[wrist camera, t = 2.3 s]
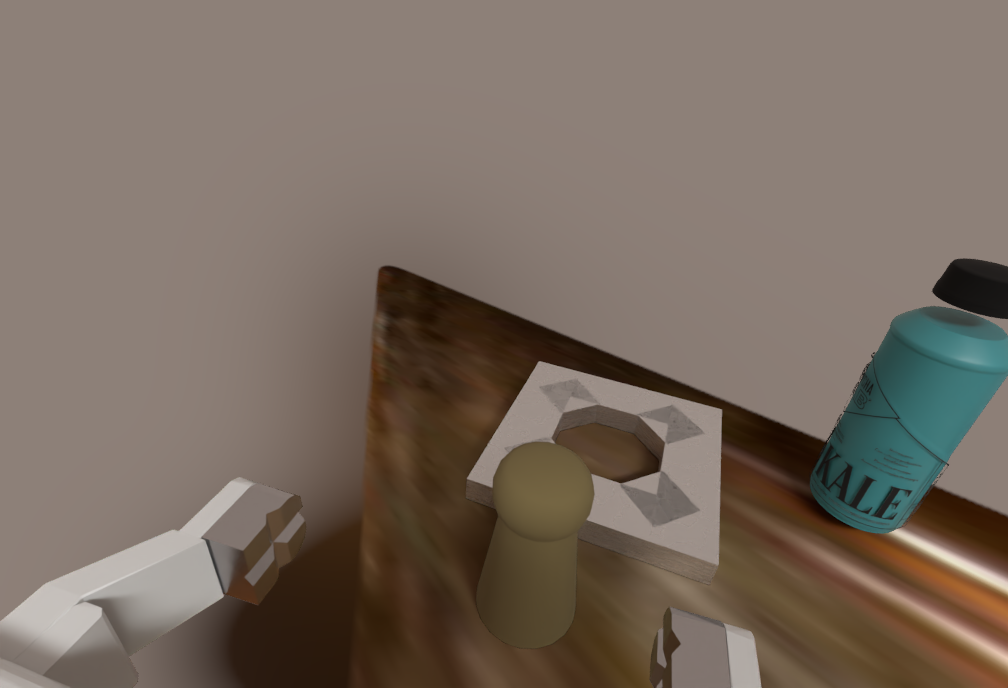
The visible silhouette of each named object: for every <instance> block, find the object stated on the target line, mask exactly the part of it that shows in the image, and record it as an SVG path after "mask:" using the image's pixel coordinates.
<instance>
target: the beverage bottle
mask: <svg viewBox="0 0 1008 688" xmlns="http://www.w3.org/2000/svg"><path fill="white" fill-rule="evenodd" d="M933 293H934V294H935V295H936V296H937V297H938V298H940V299H941V300H943V301H945V302H947V303H949V304H951V305H953V306H956V307H959V308H961V309H964V310H967V311H970V312H973V313H977V314H980V315H985V316H989V317H995V318H1002V319H1008V267H1007V266H1004V265H1000V264H997V263H992V262H988V261H982V260H976V259H956V260H954V261H953V262H952V263H950V265H949V266H948V268H947V269H946V271H945V272H944V274H943V275H942V277H941V278H940V279H939V280H938V281H937V283H936V285H935V286H934V288H933ZM873 354H874V353H873ZM871 356H872V355H871ZM872 358H873V359H872V361H871V362H870V364H867V365H868V366H869V367H868V366H866V367H867V368H868V369H866V370H867V371H866V372H865V368H864V370H863V372H864V373H862V375H863V377H862V379H861V381H860V383H859V382H858V387H857V386H856V387H857V389H856V391H855V390H854V391H855V393H854V392H853V397H852V399H851V401H850V403H849V404H848V407H847V408H846V410H845V411H844V414H843V416H842V418H841V420H839V419H840V418H839V419H838V420H839V423H838V424H837V427H835V428H834V430H833V431H832V433H831V435H832V434H833V435H832V436H831V435H830V436H829V438H830V437H831V438H830V440H829V438H828V440H829V442H828V444H827V446H826V443H827V441H828V440H827V441H826V443H825V445H824V446H823V448H822V450H821V451H822V452H820V454H819V455H820V456H821V457H820V459H819V457H817V458H818V460H819V461H818V460H817V461H818V463H817V465H816V464H815V463H816V461H815V463H814V464H815V465H816V466H815V468H814V470H813V469H812V470H813V472H812V474H811V480H810V489H811V492H812V494H813V496H814V497H815V499H816V500H817V501H818V503H819V504H820V505H821V506H822V507H823V508H824V509H825V510H826V511H827V512H829V513H830V514H831V515H833V516H834V517H836V518H837V519H839V520H840V521H842V522H844V523H846V524H848V525H850V526H852V527H854V528H857V529H860V530H863V531H867V532H872V533H888V532H891V531H894V530H896V529H898V528H901V526H902V525H903V524H905V521H906V519H908V517H909V515H911V513H912V511H913V510H914V508H916V507H917V506H916V505H917V504H919V501H920V500H921V498H922V497H924V496H925V495H924V494H925V493H926V491H928V488H929V487H931V486H933V485H931V484H932V483H933V481H934V480H935V479H936V477H937V476H938V474H939V473H940V472H941V470H942V469H943V467H944V466H945V464H947V461H948V460H949V458H950V456H951V454H952V453H953V451H954V450H955V449H956V447H957V446H958V444H959V443H960V442H961V440H962V439H963V437H964V436H965V434H966V433H967V432H968V430H969V429H970V428H971V426H972V425H973V423H974V422H975V421H976V419H977V418H978V416H979V415H980V413H981V412H982V411H983V409H984V408H985V407H986V405H987V404H988V402H989V401H990V399H991V398H992V397H993V395H994V394H995V393H996V391H997V390H998V388H999V387H1000V386H1001V384H1002V382H1003V381H1004V380H1005V379H1006V377H1007V376H1008V336H1007V334H1006V333H1005V332H1004V330H1003V329H1002V328H1000V327H999V326H997V325H996V324H994V323H992V322H990V321H988V320H986V319H983V318H981V317H979V316H976V315H973V314H970V313H967V312H963V311H960V310H956V309H952V308H946V307H936V306H930V307H923V308H919V309H915V310H912V311H908V312H905V313H903V314H900V315H898V316H896V317H895V318H894V319H893V320H892V322H891V325H890V329H889V331H888V333H887V334H886V336H885V338H884V340H883V342H882V344H881V345H880V347H879V349H878V351H877V352H876V354H875V355H874V357H873V356H872ZM856 387H855V388H856ZM841 415H842V414H841ZM841 415H840V416H841ZM838 420H837V421H838ZM825 446H826V448H825ZM824 448H825V450H824ZM821 453H822V454H821ZM819 455H818V456H819ZM947 465H948V466H949V464H947ZM940 475H941V474H940ZM937 478H938V477H937ZM932 488H933V487H932ZM929 490H930V489H929ZM930 491H931V490H930ZM930 491H929V492H930ZM926 495H928V494H926ZM925 498H926V497H925ZM924 500H925V499H924ZM922 502H923V501H922ZM920 503H921V502H920ZM920 505H921V504H920ZM919 507H920V506H919ZM919 507H918V508H919ZM916 510H917V508H916ZM916 510H915V512H916ZM913 512H914V511H913ZM915 512H914V513H915ZM913 515H914V514H913ZM913 515H912V516H913ZM909 518H910V517H909ZM909 520H910V519H909ZM909 520H908V521H909ZM908 521H906V523H907V522H908ZM904 526H905V525H904ZM902 527H903V526H902Z"/></svg>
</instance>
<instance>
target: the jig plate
mask: <svg viewBox="0 0 1008 688" xmlns="http://www.w3.org/2000/svg"><path fill="white" fill-rule="evenodd" d="M593 422H595V423H599V424H602V425H606V426H609V427H613V428H616V429H619V430H623V431H626V432H630V433H633V434H635V435H636V437H637V438H638V439H639V440H640V441H641V442H642V443H643V444H644V445H645V446H646V447H647V448H648V449H649V450H650V451H651V452H652V453H653V454H654V455H655V456H656V458H657V459H658V460H659V467H658V472H657V473H654V474H651V475H648V476H644V477H641V478H638V479H635V480H632V481H629V482H625V483H622V484H621V483H618V482H615V481H612V480H608V479H605V478H602V477H599V476H596V475H593V474H591V475H592V480H593V485H594V493H595V495H594V500H593V504H592V509H591V512H590V515H589V517H588V518H587V520H586V521H585V522H584V524H583V525H582V526H581V528H580V529H579V531H578V539H581V540H584V541H587V542H589V543H592V544H595V545H598V546H601V547H603V548H606V549H609V550H612V551H615V552H617V553H620V554H623V555H626V556H629V557H632V558H634V559H637V560H640V561H643V562H646V563H648V564H651V565H654V566H657V567H660V568H662V569H665V570H668V571H671V572H674V573H676V574H679V575H682V576H685V577H688V578H691V579H693V580H696V581H699V582H702V583H705V584H707V585H710V583H711V581H712V579H713V577H714V574H715V572H716V570H717V568H718V566H719V522H720V474H721V426H722V409H718V408H714V407H710V406H707V405H703V404H699V403H695V402H691V401H688V400H684V399H680V398H676V397H673V396H669V395H665V394H661V393H657V392H654V391H650V390H646V389H642V388H639V387H635V386H631V385H627V384H624V383H620V382H616V381H612V380H608V379H605V378H601V377H597V376H593V375H590V374H586V373H582V372H578V371H575V370H571V369H567V368H563V367H559V366H556V365H552V364H548V363H544V362H541V361H539V362H538V364H537V366H536V367H535V369H534V370H533V372H532V374H531V375H530V377H529V379H528V380H527V382H526V383H525V385H524V387H523V388H522V390H521V392H520V393H519V395H518V396H517V398H516V400H515V401H514V403H513V405H512V406H511V408H510V409H509V411H508V413H507V414H506V416H505V418H504V419H503V421H502V422H501V424H500V426H499V427H498V429H497V431H496V432H495V434H494V435H493V437H492V439H491V440H490V442H489V443H488V445H487V447H486V448H485V450H484V452H483V453H482V455H481V456H480V458H479V460H478V461H477V463H476V465H475V466H474V468H473V469H472V471H471V473H470V474H469V476H468V478H467V484H466V499H469V500H471V501H474V502H477V503H480V504H483V505H485V506H488V507H491V508H494V509H496V508H495V506H494V502H493V498H492V490H493V477H494V474H495V472H496V470H497V468H498V466H499V463H500V461H501V460H502V459H503V458H504V457H505V456H506V455H507V454H508V453H509V452H510V451H512V450H513V449H514V448H516V447H518V446H520V445H522V444H525V443H531V442H550V443H554V444H555V441H556V439H557V436H558V434H559V432H560V431H561V430H565V429H569V428H573V427H577V426H581V425H585V424H589V423H593Z"/></svg>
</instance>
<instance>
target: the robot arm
mask: <svg viewBox="0 0 1008 688" xmlns="http://www.w3.org/2000/svg"><path fill="white" fill-rule="evenodd" d="M301 508H302V502H301V498H300V496H298V495H295V494H292V493H288V492H285V491H282V490H279V489H276V488H273V487H270V486H266V485H263V484H260V483H258V482H254V481H251V480H248V479H244V478H241V477H238V478H236V479H234V480H232V481H230V482H229V483H228V484H227V485H226V486H225V487H224V488H223V489H222V490H221V491H220V492H219V493H218V494H217V495H216V496H215V497H214V498H213V499H212V500H211V501H210V502H209V503H207V504H206V506H204V507H203V508H202V509H201V510H200V511H199V512H198V513H197V514H196V515H195V516H194V517H193V518H192V519H191V520H190V521H189V522H188V523H187V524H186V525H185V526H184V527H183V528H182V529H181V530H180V531H178V530H174V529H173V530H170V531H168V532H166V533H163V534H161V535H159V536H156V537H154V538H152V539H150V540H147V541H145V542H142V543H140V544H138V545H135V546H133V547H130V548H128V549H126V550H123V551H121V552H119V553H116V554H114V555H111V556H109V557H107V558H104V559H102V560H100V561H97V562H95V563H93V564H90V565H88V566H86V567H84V568H81V569H79V570H76V571H74V572H71V573H69V574H67V575H64V576H62V577H60V578H57V579H55V580H53V581H50V582H48V583H46V584H44V585H43V586H42V587H41V588H39V589H38V590H37V591H36V592H35V593H34V594H32V595H31V596H30V597H29V598H28V599H26V600H25V601H24V602H23V603H22V604H21V605H19V606H18V607H17V608H16V609H15V610H14V611H12V612H11V613H10V614H9V615H8V616H7V617H5V618H4V619H3V620H2V621H1V622H0V688H133V687H134V686H135V684H136V683H137V682H138V672H137V671H136V669H135V667H134V665H133V663H132V662H131V660H130V658H129V656H131V655H132V654H134V653H135V652H137V651H139V650H140V649H142V648H143V647H145V646H146V645H148V644H150V643H151V642H153V641H155V640H156V639H158V638H159V637H161V636H162V635H164V634H166V633H167V632H169V631H170V630H172V629H173V628H175V627H177V626H178V625H180V624H181V623H183V622H185V621H186V620H188V619H189V618H191V617H193V616H194V615H196V614H197V613H199V612H200V611H202V610H204V609H205V608H207V607H208V606H210V605H211V604H213V603H215V602H216V601H218V600H220V599H221V598H223V597H224V594H225V595H229V596H232V597H234V598H238V599H241V600H244V601H247V602H250V603H253V604H256V605H259V604H260V602H261V601H262V600H263V598H264V597H265V596H266V594H267V593H268V592H269V590H270V589H271V588H272V587H273V585H274V584H275V583H276V581H277V580H278V578H279V568H280V567H281V566H283V565H285V564H287V563H289V562H291V561H292V560H293V558H294V557H295V556H296V554H297V553H298V551H299V550H300V548H301V545H302V543H303V540H304V538H305V533H306V523H305V519H304V518H303V517H302V516H301V515H300V513H299V510H300V509H301ZM650 682H651V683H652V685H653V687H654V688H762V687H761V680H760V673H759V666H758V660H757V653H756V646H755V639H754V636H753V634H752V632H751V631H749V630H747V629H743V628H740V627H736V626H732V625H729V624H725V623H722V622H721V621H718V620H715V619H711V618H708V617H704V616H701V615H697V614H694V613H690V612H687V611H683V610H680V609H676V608H673V607H669V608H668V609H667V610H666V612H665V615H664V619H663V628H662V629H659V630H658V632H657V634H656V637H655V640H654V645H653V649H652V654H651V664H650Z"/></svg>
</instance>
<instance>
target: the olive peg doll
mask: <svg viewBox="0 0 1008 688" xmlns="http://www.w3.org/2000/svg"><path fill="white" fill-rule="evenodd" d="M594 495H595V493H594V485H593V480H592V475H591V473H590V472H589V470H588V468H587V467H586V465H585V463H584V462H583V460H582V459H581V458H580V457H579V456H578V455H576V454H575V453H574V452H573V451H571V450H569V449H567V448H565V447H563V446H561V445H558V444H554V443H550V442H531V443H525V444H522V445H520V446H518V447H516V448H514V449H513V450H512V451H510V452H509V453H508V454H507V455H506V456H505V457H504V458H503V459H502V460H501V461H500V463H499V466H498V468H497V470H496V472H495V474H494V477H493V490H492V498H493V502H494V506H495V508H496V511H497V513H498V518H497V521H496V525H495V528H494V532H493V535H492V539H491V542H490V545H489V549H488V552H487V556H486V559H485V562H484V566H483V569H482V573H481V576H480V579H479V583H478V586H477V596H476V605H477V608H478V611H479V615H480V618H481V620H482V621H483V623H484V624H485V625H486V627H487V628H488V630H489V631H490V632H491V633H492V634H493V635H495V636H496V637H497V638H499V639H500V640H501V641H502V642H504V643H507V644H510V645H512V646H515V647H518V648H529V649H537V648H541V647H544V646H547V645H551V644H553V643H554V642H556V641H557V640H558V639H559V638H561V637H562V636H563V635H565V633H566V632H567V630H568V629H569V627H570V625H571V624H572V622H573V618H574V614H575V609H576V580H577V540H578V531H579V529H580V528H581V526H582V525H583V524H584V522H585V521H586V520H587V518H588V517H589V515H590V512H591V509H592V504H593V500H594Z"/></svg>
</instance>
